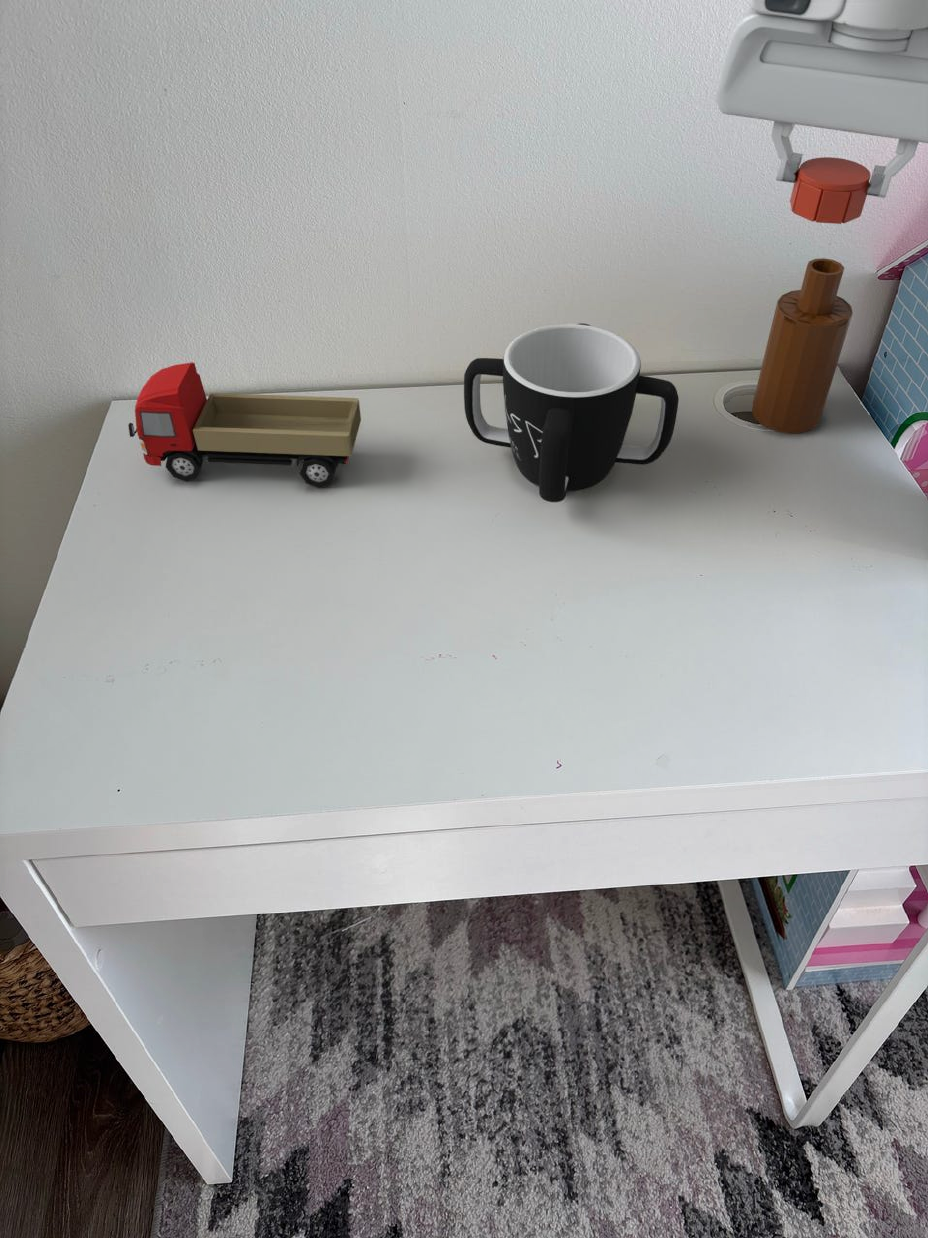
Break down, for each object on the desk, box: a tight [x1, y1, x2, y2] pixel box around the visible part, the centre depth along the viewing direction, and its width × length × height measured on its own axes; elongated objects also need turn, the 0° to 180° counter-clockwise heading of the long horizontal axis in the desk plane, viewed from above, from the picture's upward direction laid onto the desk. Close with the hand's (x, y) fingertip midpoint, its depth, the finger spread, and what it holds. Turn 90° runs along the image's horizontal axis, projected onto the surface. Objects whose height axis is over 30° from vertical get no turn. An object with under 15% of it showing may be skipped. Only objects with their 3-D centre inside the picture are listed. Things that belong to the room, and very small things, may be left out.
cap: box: [789, 156, 872, 225], centre depth 77 cm, size 5×5×3 cm
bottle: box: [751, 257, 854, 434], centre depth 94 cm, size 7×7×16 cm
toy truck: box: [128, 361, 362, 489], centre depth 91 cm, size 7×21×10 cm, turn 85°
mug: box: [463, 322, 680, 503], centre depth 90 cm, size 16×16×12 cm
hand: (830, 186), depth 77 cm, fingers closed on cap, 5 cm apart
